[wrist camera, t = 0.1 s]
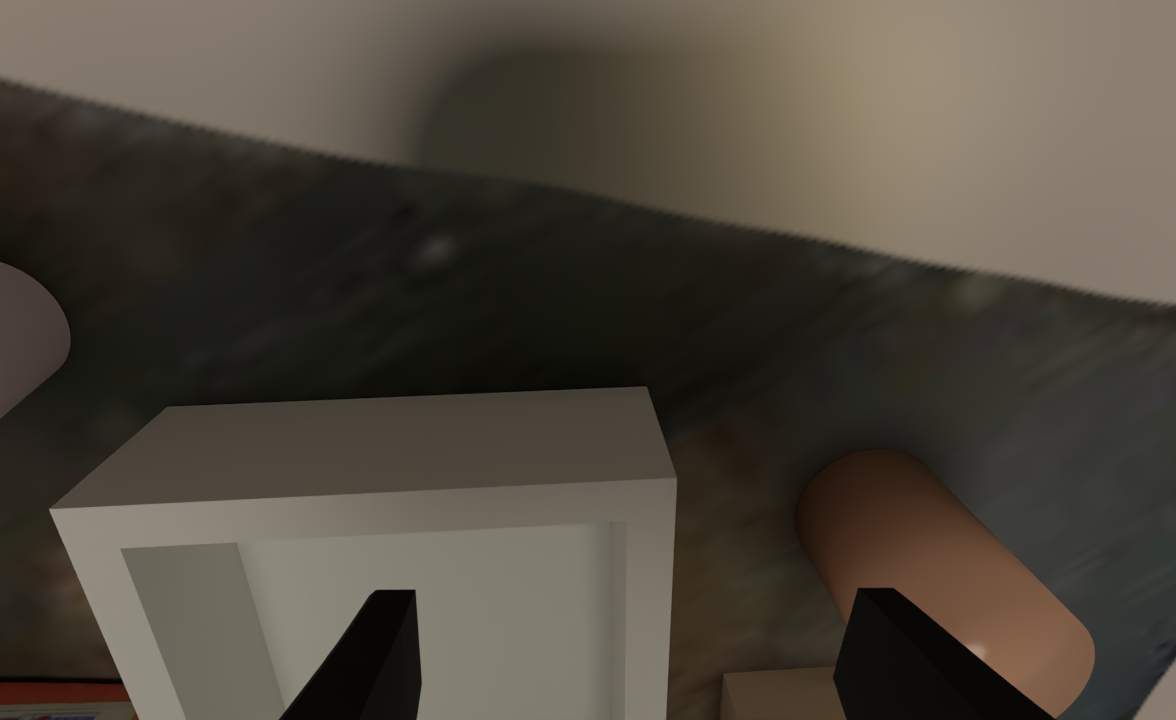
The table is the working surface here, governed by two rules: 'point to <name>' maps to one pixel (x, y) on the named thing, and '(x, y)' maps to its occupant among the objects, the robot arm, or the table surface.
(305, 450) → the tote
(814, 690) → the cube
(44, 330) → the smoothie
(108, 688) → the cracker box
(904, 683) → the robot arm
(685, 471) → the table surface
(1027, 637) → the cylinder
